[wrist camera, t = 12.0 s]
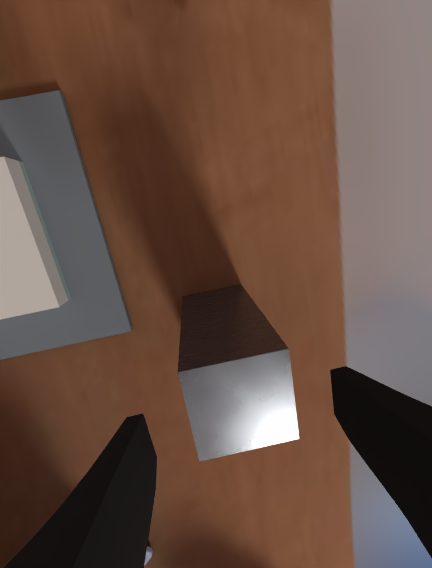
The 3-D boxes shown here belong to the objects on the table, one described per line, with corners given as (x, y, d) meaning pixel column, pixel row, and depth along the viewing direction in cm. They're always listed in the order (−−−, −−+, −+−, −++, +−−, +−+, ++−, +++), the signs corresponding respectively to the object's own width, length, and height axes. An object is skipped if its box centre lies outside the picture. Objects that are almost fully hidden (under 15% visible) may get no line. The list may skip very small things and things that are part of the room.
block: (249, 337, 19) (299, 438, 11) (194, 349, 19) (199, 461, 11) (241, 284, 18) (288, 348, 10) (182, 296, 18) (177, 372, 9)
